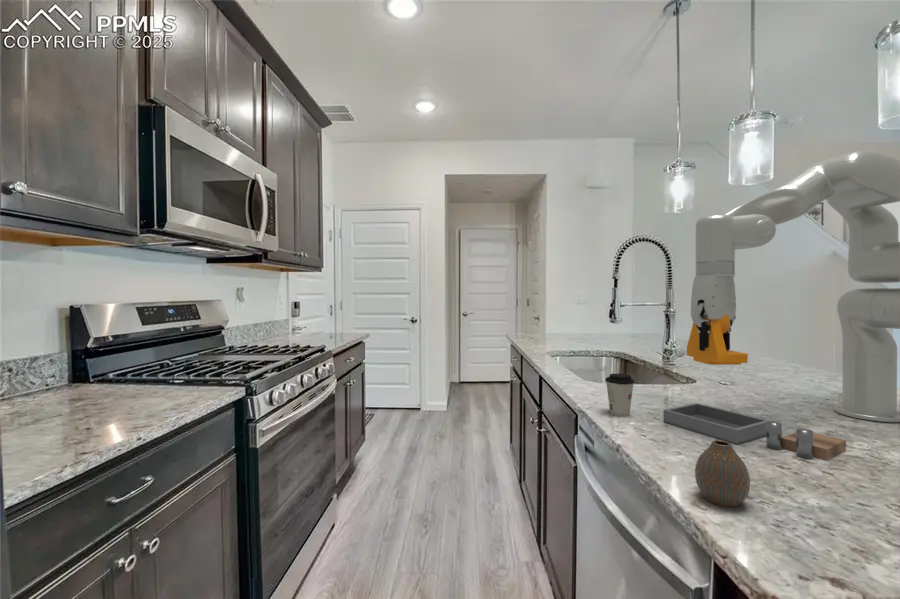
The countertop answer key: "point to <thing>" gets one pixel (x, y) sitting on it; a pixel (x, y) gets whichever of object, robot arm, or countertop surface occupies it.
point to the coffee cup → (619, 394)
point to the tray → (717, 423)
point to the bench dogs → (802, 439)
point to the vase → (722, 475)
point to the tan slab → (818, 445)
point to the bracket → (714, 345)
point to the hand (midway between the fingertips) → (714, 349)
